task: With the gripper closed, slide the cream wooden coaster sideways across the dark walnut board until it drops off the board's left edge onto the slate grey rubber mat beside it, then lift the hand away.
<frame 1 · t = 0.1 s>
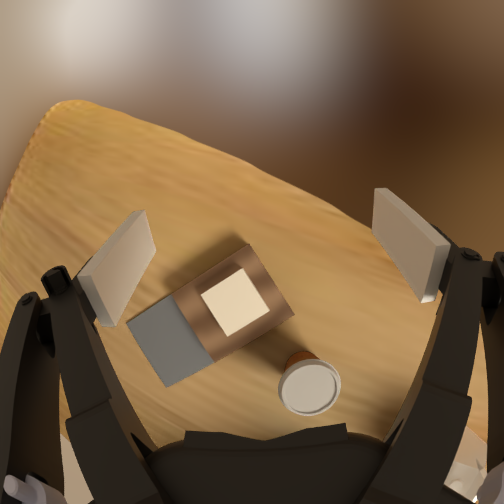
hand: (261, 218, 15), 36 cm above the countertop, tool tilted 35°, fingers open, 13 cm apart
walnut board: (234, 302, 51), on the countertop
disposable coffee cup: (302, 366, 49), on the countertop
milk: (423, 434, 45), on the countertop
coaster: (236, 301, 47), point 4 cm above the countertop, touching walnut board
rubber mat: (169, 342, 51), on the countertop
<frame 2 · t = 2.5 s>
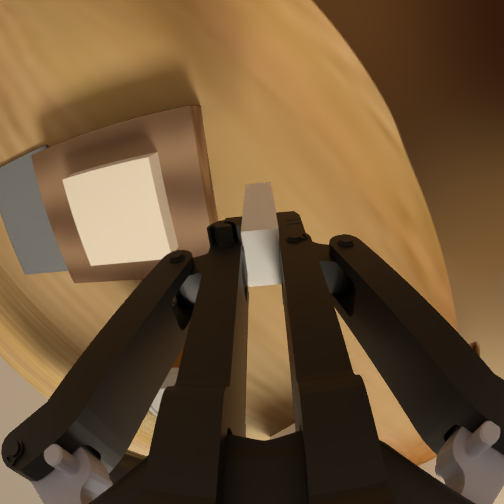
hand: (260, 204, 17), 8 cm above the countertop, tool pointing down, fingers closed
walnut board: (131, 194, 25), on the countertop
disposable coffee cup: (204, 324, 33), on the countertop
coaster: (123, 208, 21), point 4 cm above the countertop, touching walnut board
rubber mat: (31, 217, 26), on the countertop
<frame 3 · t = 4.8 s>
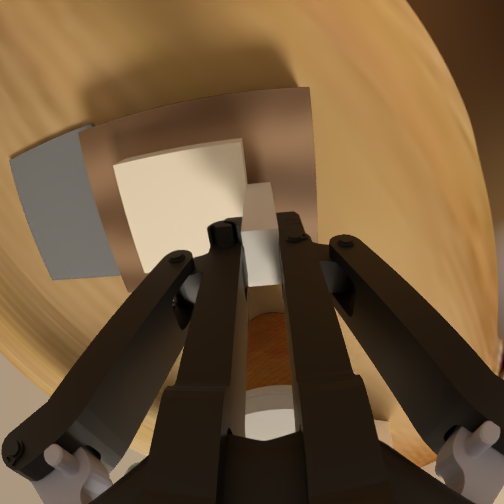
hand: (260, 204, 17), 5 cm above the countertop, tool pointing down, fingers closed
walnut board: (207, 186, 22), on the countertop
disposable coffee cup: (273, 331, 31), on the countertop
milk: (350, 431, 47), on the countertop
coaster: (190, 203, 19), point 4 cm above the countertop, touching gripper
rubber mat: (65, 213, 23), on the countertop
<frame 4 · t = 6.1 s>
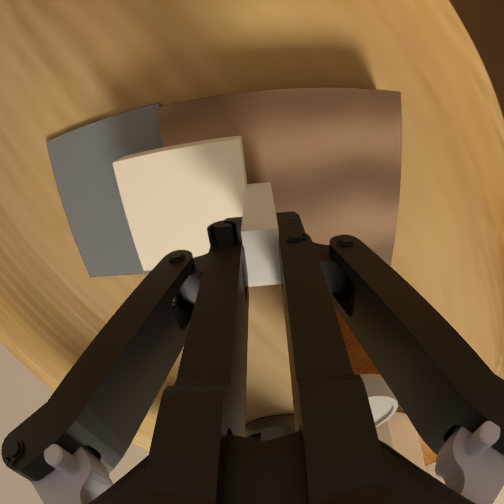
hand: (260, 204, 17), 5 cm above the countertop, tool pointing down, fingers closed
walnut board: (286, 178, 22), on the countertop
disposable coffee cup: (328, 326, 30), on the countertop
milk: (377, 425, 46), on the countertop
coaster: (190, 201, 19), point 4 cm above the countertop, touching walnut board
rubber mat: (115, 201, 23), on the countertop
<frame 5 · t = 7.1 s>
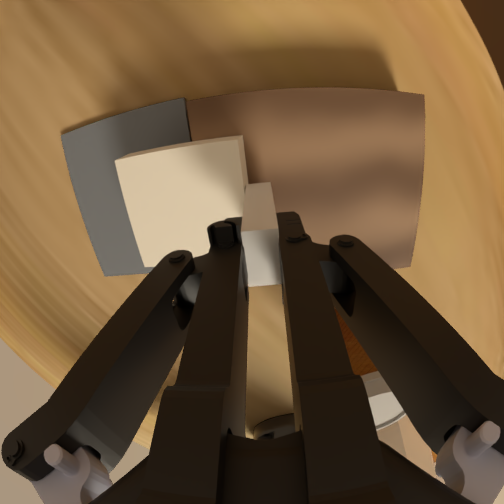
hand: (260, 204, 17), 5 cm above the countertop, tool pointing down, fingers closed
walnut board: (311, 176, 22), on the countertop
disposable coffee cup: (345, 323, 30), on the countertop
milk: (386, 423, 46), on the countertop
coaster: (191, 200, 19), point 4 cm above the countertop, tilted 5°, touching walnut board
rubber mat: (134, 198, 23), on the countertop
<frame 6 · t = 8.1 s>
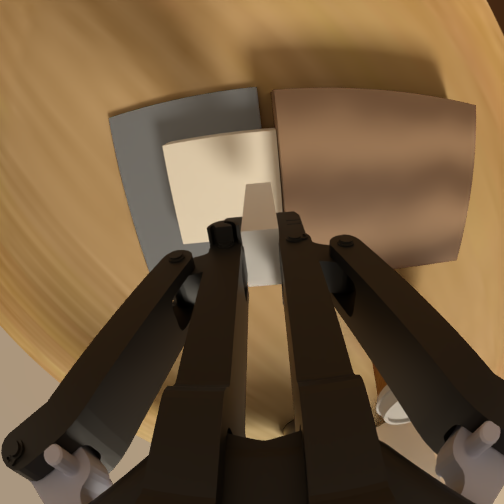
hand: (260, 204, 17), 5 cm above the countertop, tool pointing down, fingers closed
walnut board: (373, 173, 21), on the countertop
disposable coffee cup: (389, 316, 30), on the countertop
milk: (409, 416, 46), on the countertop
coaster: (227, 182, 22), resting on rubber mat
rubber mat: (193, 188, 22), on the countertop
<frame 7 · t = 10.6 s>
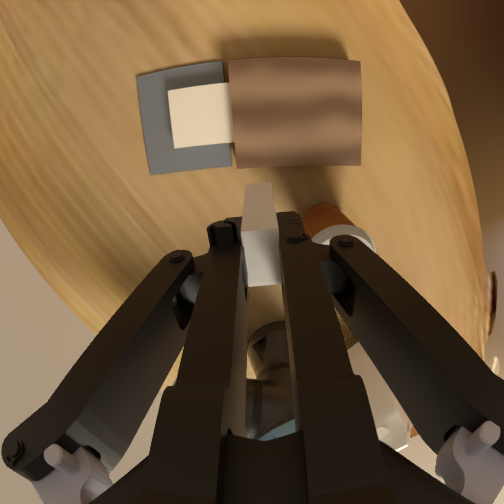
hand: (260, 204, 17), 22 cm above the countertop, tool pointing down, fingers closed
walnut board: (294, 109, 34), on the countertop
disposable coffee cup: (322, 221, 43), on the countertop
milk: (367, 352, 60), on the countertop
coaster: (203, 114, 34), resting on rubber mat
rubber mat: (183, 118, 35), on the countertop
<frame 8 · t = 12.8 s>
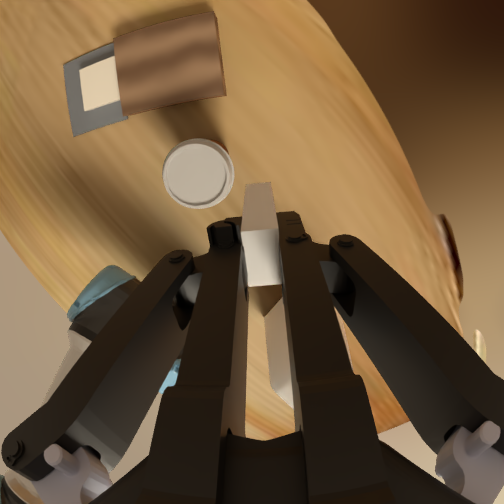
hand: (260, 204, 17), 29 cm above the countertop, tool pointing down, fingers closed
walnut board: (172, 64, 36), on the countertop
disposable coffee cup: (210, 157, 45), on the countertop
milk: (301, 309, 61), on the countertop
coaster: (105, 83, 36), resting on rubber mat
rubber mat: (93, 89, 37), on the countertop
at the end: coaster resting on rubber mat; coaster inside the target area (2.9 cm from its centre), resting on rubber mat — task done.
